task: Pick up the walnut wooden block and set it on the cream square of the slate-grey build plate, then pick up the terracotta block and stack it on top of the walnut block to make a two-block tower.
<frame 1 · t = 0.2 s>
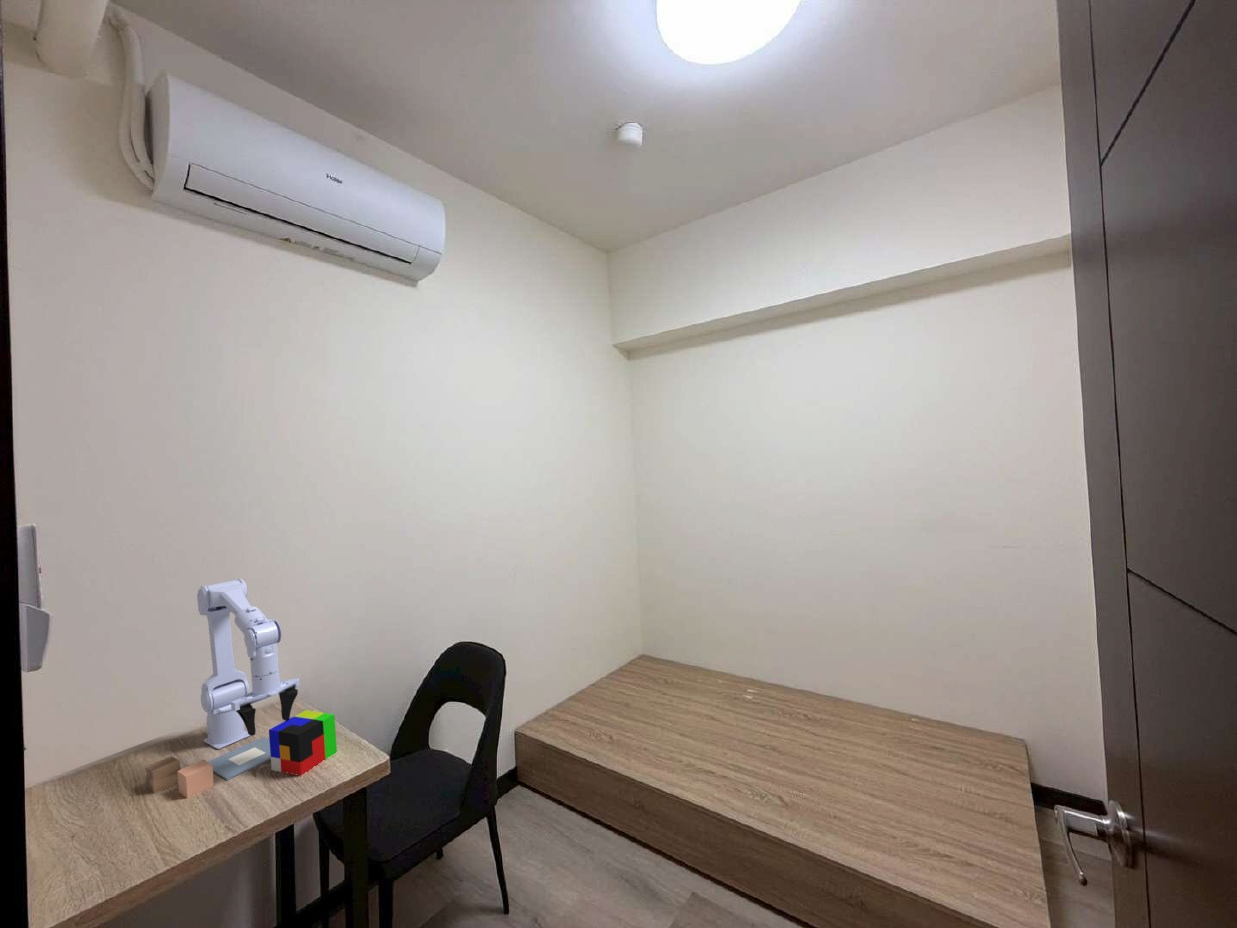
hand: (269, 726, 128), 10 cm above the table, tool pointing down, fingers open, 7 cm apart
puzzle toy: (305, 762, 130), on the table
terracotta block: (196, 789, 121), on the table
walnut block: (164, 784, 124), on the table
build plate: (247, 757, 133), on the table
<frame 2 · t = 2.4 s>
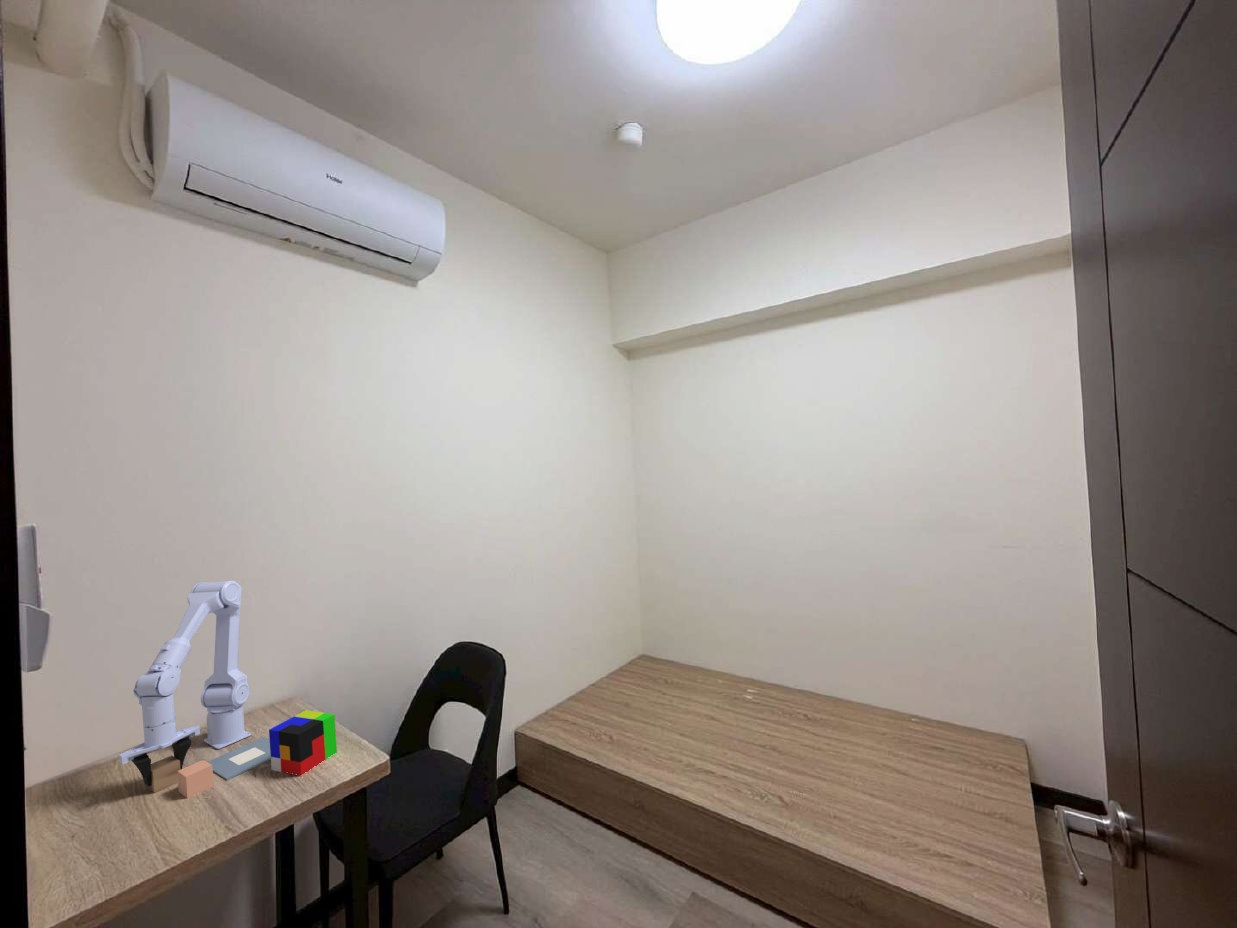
hand: (163, 778, 124), 1 cm above the table, tool pointing down, fingers closed on walnut block, 5 cm apart
walnut block: (164, 784, 124), on the table, touching gripper
everything else where it was.
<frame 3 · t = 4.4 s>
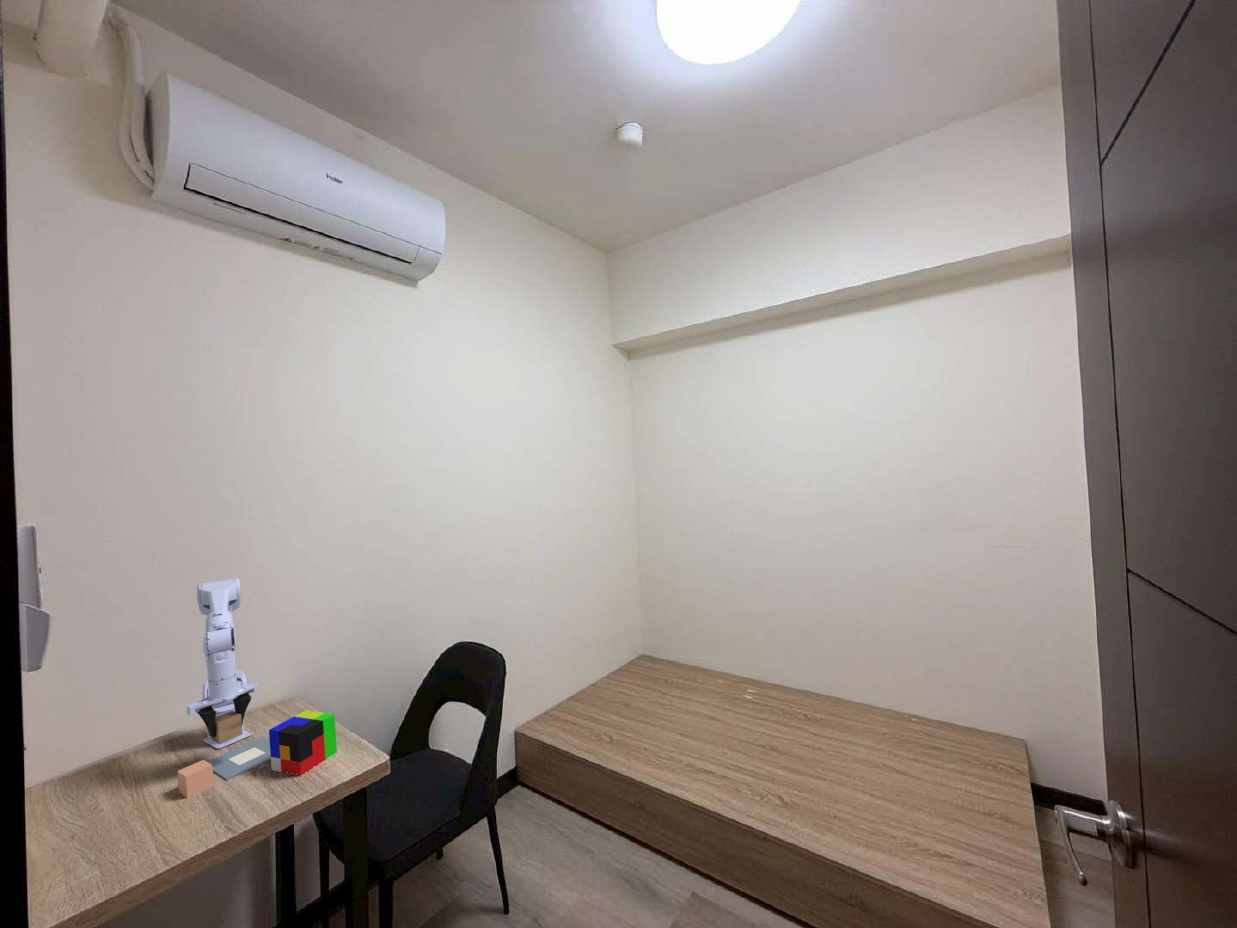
hand: (226, 730, 131), 8 cm above the table, tool pointing down, fingers closed on walnut block, 5 cm apart
walnut block: (226, 736, 131), point 7 cm above the table, touching gripper
everything else where it was.
when the fingers open (3 cm above the table, at t = 6.3 s): walnut block stays where it is, resting on build plate.
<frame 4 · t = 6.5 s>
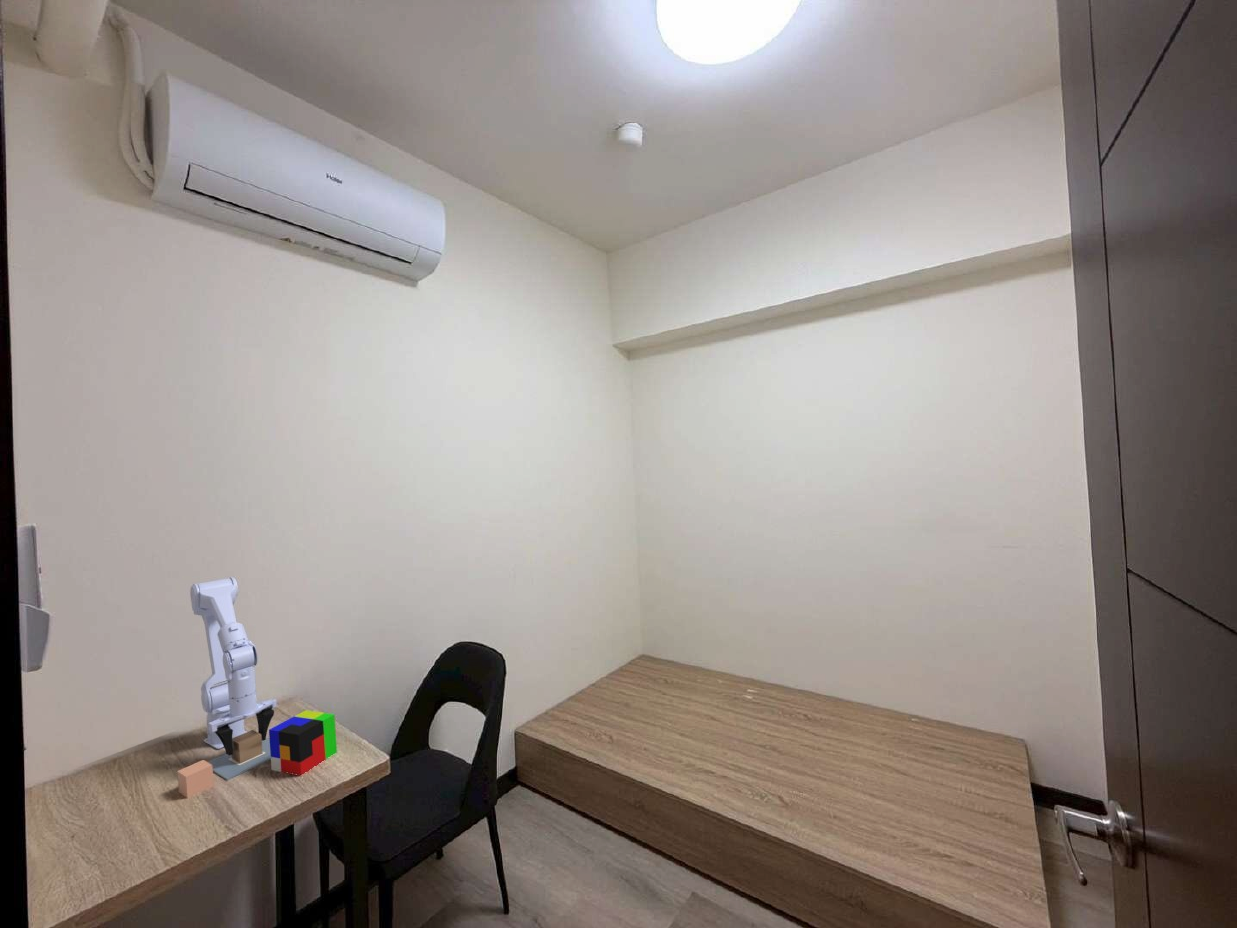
hand: (246, 746, 133), 3 cm above the table, tool pointing down, fingers open, 7 cm apart
walnut block: (247, 755, 133), resting on build plate
everything else where it was.
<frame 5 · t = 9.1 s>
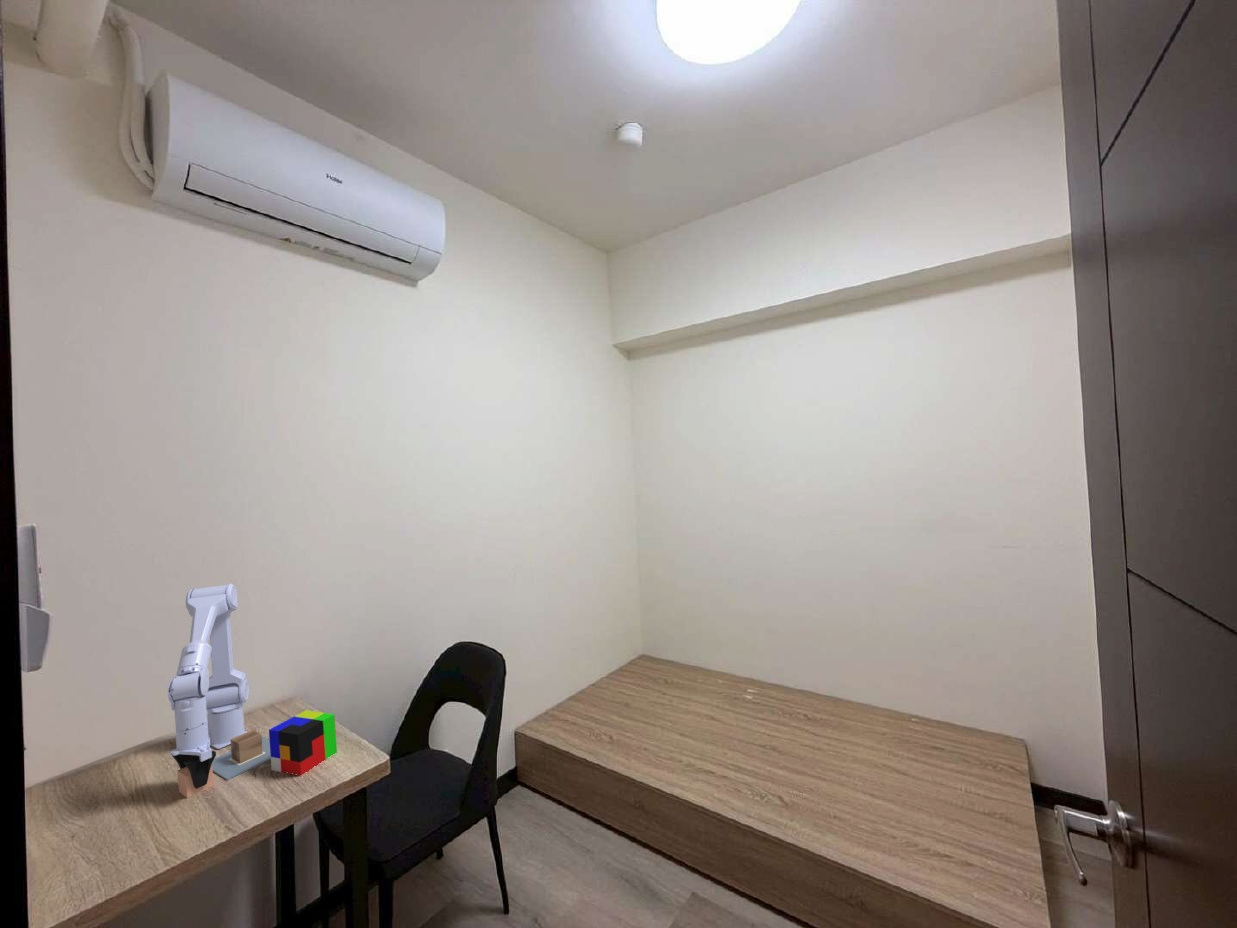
hand: (196, 782, 121), 1 cm above the table, tool pointing down, fingers closed on terracotta block, 5 cm apart
terracotta block: (196, 788, 121), on the table, touching gripper
everything else where it was.
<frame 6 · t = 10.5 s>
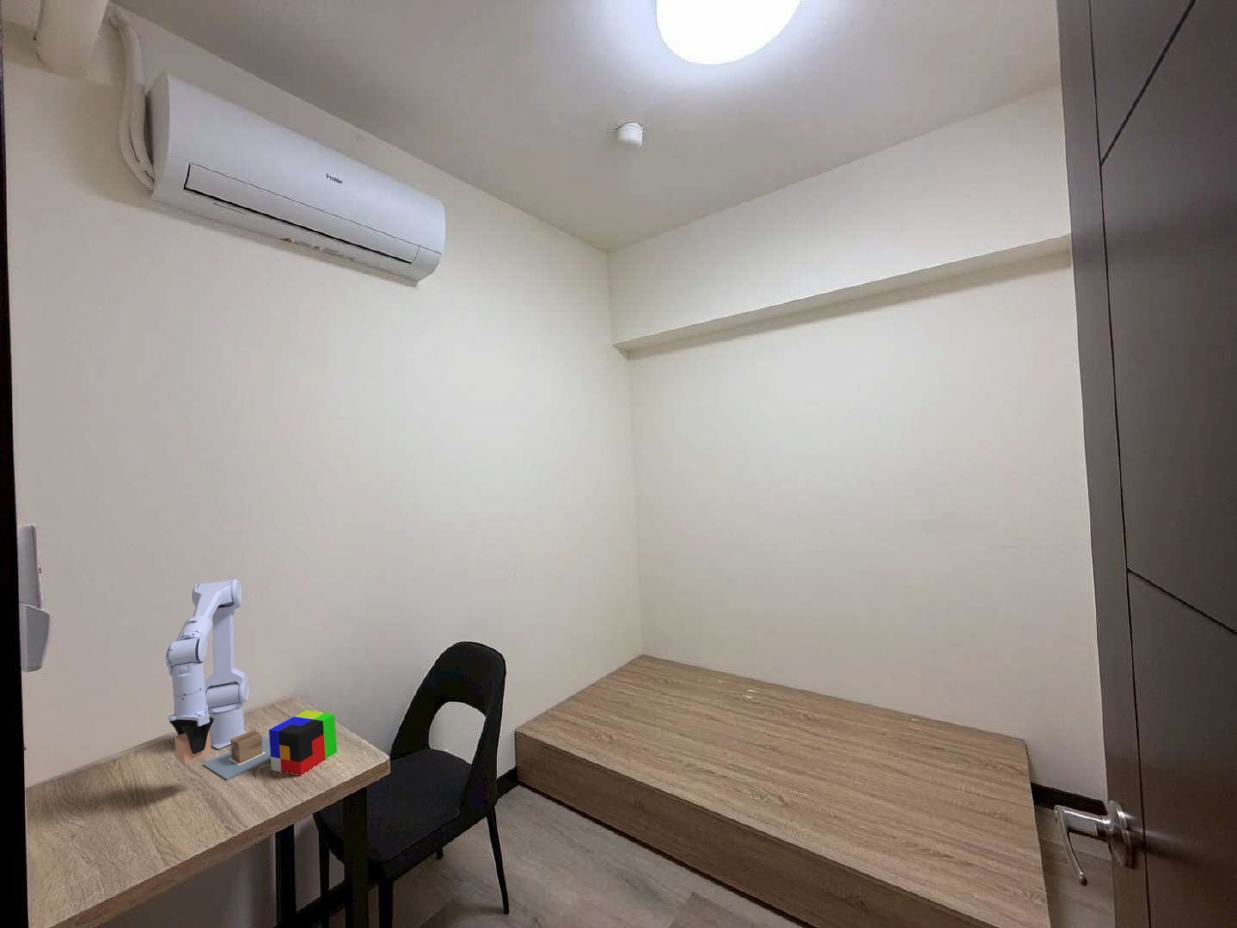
hand: (193, 748, 121), 9 cm above the table, tool pointing down, fingers closed on terracotta block, 5 cm apart
terracotta block: (193, 755, 121), point 8 cm above the table, touching gripper
everything else where it was.
when the fingers open (8 cm above the table, at t = 12.2 s): terracotta block stays where it is, resting on walnut block.
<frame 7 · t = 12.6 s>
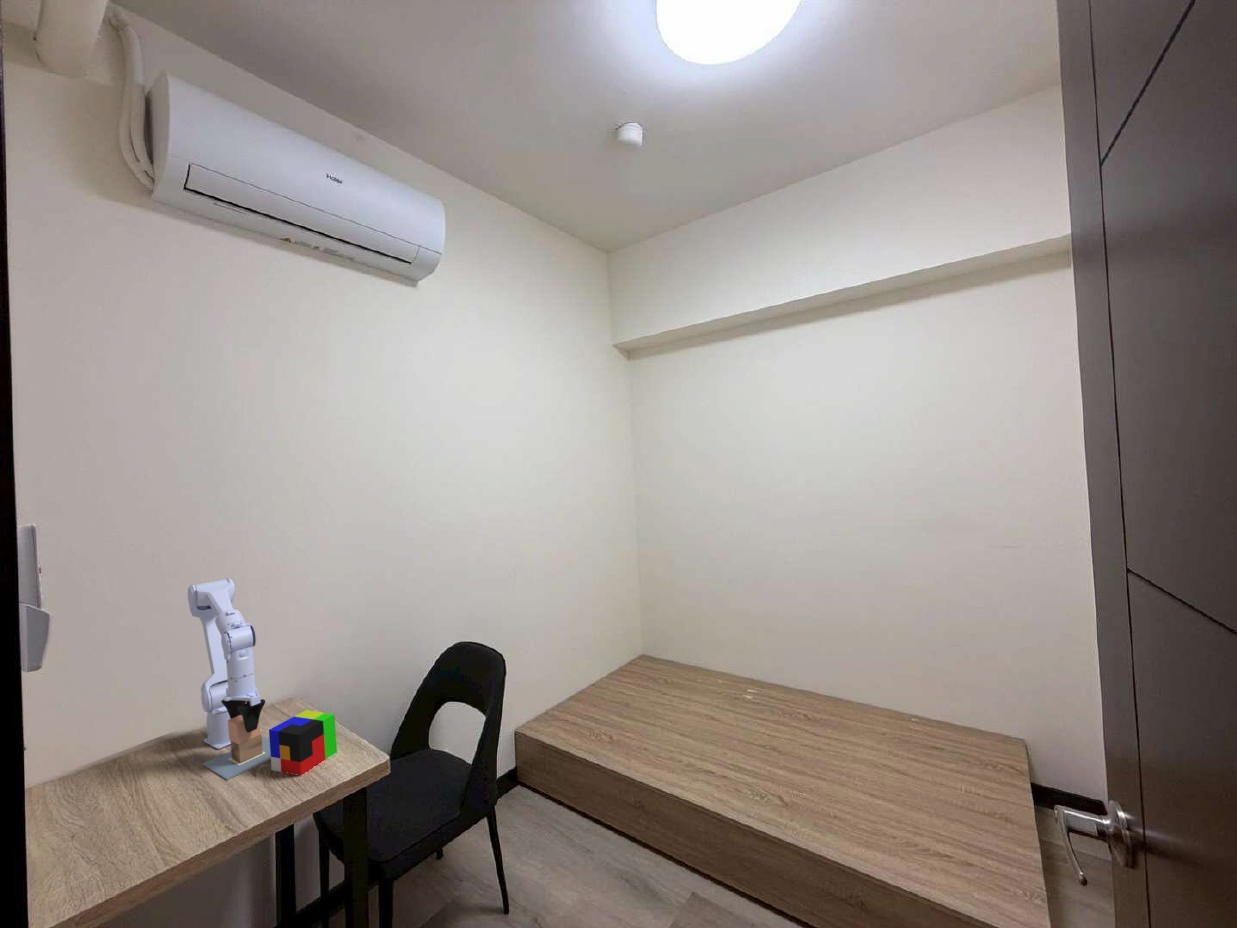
hand: (245, 727, 133), 8 cm above the table, tool pointing down, fingers open, 7 cm apart
terracotta block: (244, 736, 133), point 5 cm above the table, touching walnut block
walnut block: (247, 755, 133), resting on build plate, touching terracotta block
everything else where it was.
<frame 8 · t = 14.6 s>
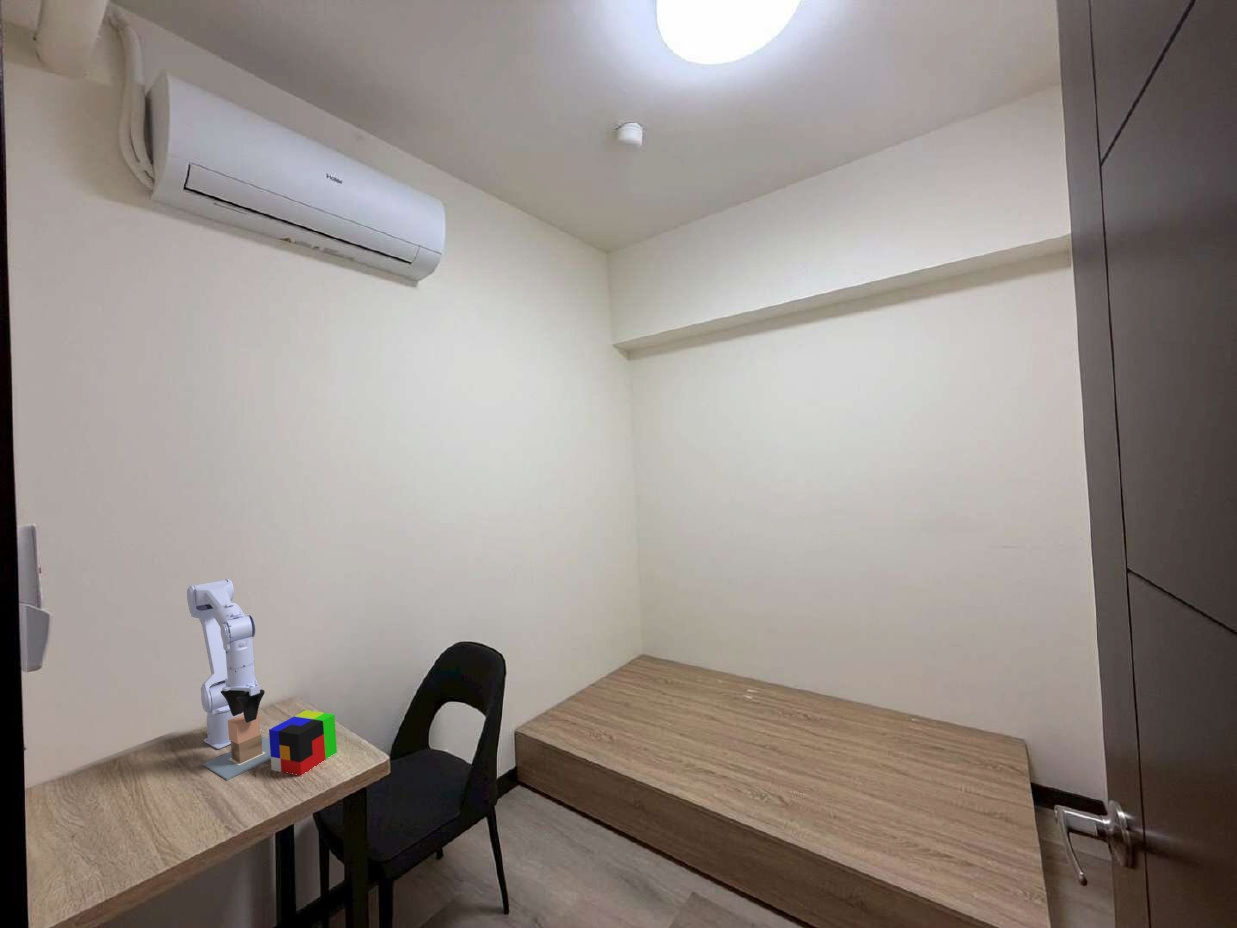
hand: (244, 717, 133), 10 cm above the table, tool pointing down, fingers open, 7 cm apart
nothing on the table moved.
at the end: walnut block 0.1 cm from the target spot, resting on build plate; terracotta block 0.2 cm off-centre on the walnut block, point 5.0 cm above the walnut block's base; terracotta block tilted 0° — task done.
